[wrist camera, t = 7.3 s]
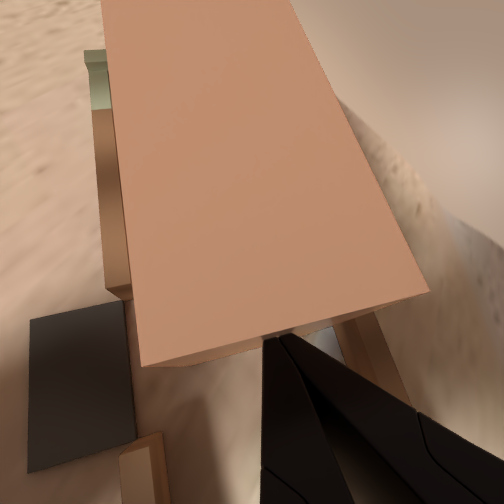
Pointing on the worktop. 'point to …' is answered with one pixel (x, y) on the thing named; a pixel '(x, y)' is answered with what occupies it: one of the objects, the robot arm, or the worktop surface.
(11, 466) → the worktop surface
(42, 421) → the lane
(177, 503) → the worktop surface
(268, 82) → the brick
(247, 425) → the worktop surface
